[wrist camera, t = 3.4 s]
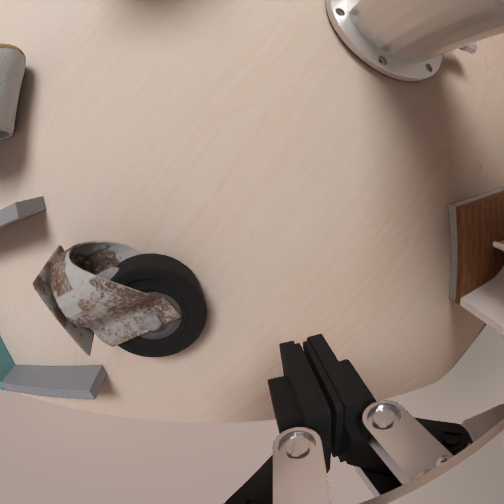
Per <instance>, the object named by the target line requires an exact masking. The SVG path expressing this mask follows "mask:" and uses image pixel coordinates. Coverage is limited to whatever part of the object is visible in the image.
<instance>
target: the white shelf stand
mask: <svg viewBox="0 0 504 504" xmlns="http://www.w3.org/2000/svg"><path fill="white" fill-rule="evenodd" d="M448 211H449V225H450V291H449V298H450V299H452V300H453V301H455V302H456V303H458V304H459V305H461V306H462V307H463V308H465V309H466V310H468V311H469V312H471V313H472V314H473V315H475V316H476V317H478V318H479V319H480V320H482V321H483V322H485V323H486V324H487V325H489V326H490V327H491V328H493V329H494V330H495V331H497V332H498V333H499V334H501V335H502V336H503V337H504V187H501V188H498V189H495V190H493V191H490V192H487V193H484V194H481V195H478V196H475V197H472V198H469V199H465V200H462V201H459V202H456V203H453V204H450V205H448Z"/></svg>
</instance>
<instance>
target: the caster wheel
mask: <svg viewBox="0 0 504 504" xmlns="http://www.w3.org/2000/svg"><path fill="white" fill-rule="evenodd" d="M33 286H34V289H35V290H36V292H37V293H38V294H39V296H40V297H41V299H42V300H43V301H44V303H45V304H46V305H47V307H48V308H49V310H50V311H51V312H52V313H53V315H54V316H55V317H56V319H57V320H58V321H59V322H60V324H61V325H62V326H63V327H64V329H65V330H66V331H67V332H68V333H69V335H70V336H71V337H72V338H73V339H74V340H75V342H76V343H77V344H78V345H79V346H80V347H81V348H82V349H83V351H84V352H85V353H86V354H87V355H89V356H90V353H91V348H92V342H93V337H94V333H95V334H96V335H97V336H98V338H99V339H101V340H102V341H103V342H105V343H107V344H108V345H110V346H113V347H114V346H116V345H118V346H119V347H121V348H122V349H124V350H126V351H128V352H130V353H133V354H136V355H140V356H146V357H163V356H168V355H172V354H175V353H178V352H180V351H182V350H183V349H185V348H187V347H188V346H190V345H191V344H192V343H193V342H194V341H195V340H196V339H197V338H198V337H199V335H200V334H201V332H202V330H203V328H204V326H205V323H206V317H207V308H206V303H205V300H204V296H203V293H202V290H201V287H200V285H199V282H198V280H197V278H196V276H195V275H194V274H193V272H192V271H191V270H190V269H189V268H188V267H187V266H185V265H184V264H183V263H181V262H180V261H178V260H176V259H174V258H172V257H169V256H166V255H160V254H142V253H140V252H139V251H137V250H136V249H134V248H132V247H130V246H128V245H125V244H121V243H117V242H110V241H94V242H86V243H80V244H77V245H74V246H72V247H71V248H69V249H68V250H66V251H64V250H63V248H62V246H61V245H59V246H58V248H57V249H56V250H55V252H54V253H53V254H52V256H51V257H50V259H49V260H48V261H47V263H46V264H45V266H44V267H43V269H42V270H41V272H40V273H39V274H38V276H37V278H36V279H35V281H34V282H33Z"/></svg>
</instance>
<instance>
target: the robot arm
mask: <svg viewBox="0 0 504 504" xmlns="http://www.w3.org/2000/svg"><path fill="white" fill-rule="evenodd" d="M326 9H327V13H328V16H329V19H330V21H331V23H332V25H333V27H334V29H335V31H336V32H337V33H338V35H339V36H340V38H341V39H342V41H343V42H344V43H345V44H346V45H347V46H348V47H349V48H350V50H351V51H353V52H354V53H355V54H356V55H357V56H358V57H359V58H360V59H361V60H363V61H364V62H365V63H367V64H368V65H370V66H371V67H372V68H374V69H376V70H378V71H379V72H381V73H383V74H385V75H387V76H390V77H392V78H395V79H398V80H403V81H419V80H423V79H426V78H428V77H431V76H432V75H433V74H435V73H436V72H437V71H438V69H439V67H440V66H441V62H442V58H443V53H446V52H449V51H451V50H454V49H457V48H458V49H460V50H463V51H466V52H468V53H471V54H472V53H475V51H476V50H477V45H476V41H479V40H482V39H486V38H489V37H492V36H495V35H499V34H502V33H504V0H326ZM279 345H280V353H281V359H282V366H283V372H284V376H283V377H278V378H274V379H269V380H268V385H269V390H270V395H271V399H272V404H273V408H274V413H275V417H276V421H277V425H278V429H279V433H280V435H278V436H277V437H276V439H275V441H274V444H273V455H272V456H271V457H270V458H269V459H268V460H267V461H266V462H265V463H264V464H263V465H262V467H261V468H260V469H259V470H258V471H257V472H256V473H255V474H254V475H253V476H252V477H251V478H250V479H249V480H248V481H247V482H246V483H245V484H244V485H243V486H242V487H241V488H240V489H239V490H237V491H236V492H235V493H234V494H233V495H232V496H231V497H230V498H229V499H228V500H227V501H226V502H225V503H224V504H331V501H330V493H329V486H328V480H327V473H328V471H329V470H330V458H331V453H332V455H333V457H336V456H338V457H339V459H340V462H343V461H346V462H347V464H350V465H353V466H354V467H355V469H356V471H357V473H358V474H359V475H360V477H361V478H362V480H363V481H364V482H365V484H366V485H367V487H368V488H369V489H370V491H371V492H372V493H373V495H374V496H375V498H373V499H370V500H368V501H365V502H363V503H360V504H504V404H501V405H498V406H496V407H494V408H492V409H490V410H487V411H485V412H483V413H481V414H479V415H476V416H474V417H472V418H469V419H467V420H464V421H463V422H462V424H456V423H448V422H440V421H433V420H426V419H420V418H414V417H413V416H412V415H411V414H410V413H408V411H406V410H405V409H404V408H403V407H402V406H401V405H400V404H398V403H397V402H393V401H389V400H383V401H378V402H376V400H375V398H374V397H373V395H372V394H371V392H370V391H369V389H368V388H367V386H366V385H365V383H364V382H363V380H362V379H361V377H360V376H359V374H358V373H357V371H356V370H355V368H354V367H353V365H352V364H351V362H350V361H349V360H347V359H346V360H343V361H338V360H337V358H336V356H335V355H334V353H333V352H332V350H331V348H330V347H329V345H328V343H327V342H326V340H325V339H324V337H323V335H322V334H318V335H314V336H311V337H308V338H307V341H305V342H303V349H302V347H301V345H300V343H297V344H295V343H294V341H290V342H286V343H281V344H279ZM303 350H304V352H303Z"/></svg>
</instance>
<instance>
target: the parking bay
mask: <svg viewBox="0 0 504 504" xmlns="http://www.w3.org/2000/svg"><path fill="white" fill-rule="evenodd" d="M43 210H45V205H44V200H43V196H42V197H38V198H33V199H29V200H25V201H21V202H17V203H14V204H12V205H10V206H8V207H6V208H4V209H2V210H0V228H2V227H4V226H7V225H9V224H11V223H14V222H16V221H18V220H21V219H23V218H26V217H28V216H30V215H33V214H36V213H38V212H41V211H43ZM106 375H107V373H106V371H105V369H104V367H103V366H102V365H92V366H30V365H15V363H14V362H13V360H12V358H11V356H10V354H9V353H8V351H7V349H6V347H5V345H4V343H3V341H2V339H1V337H0V389H1V390H6V391H13V392H18V393H25V394H32V395H41V396H50V397H61V398H76V399H95V398H96V396H97V394H98V392H99V390H100V387H101V385H102V383H103V381H104V379H105V377H106Z"/></svg>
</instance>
